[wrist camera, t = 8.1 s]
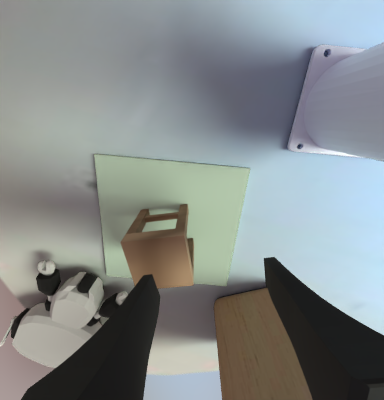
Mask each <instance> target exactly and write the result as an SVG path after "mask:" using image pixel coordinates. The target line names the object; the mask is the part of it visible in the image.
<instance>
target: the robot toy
mask: <svg viewBox="0 0 384 400" xmlns="http://www.w3.org/2000/svg"><path fill="white" fill-rule="evenodd" d="M55 267H56V265H55V263H54V262H53V261H49V260H48V261H47V262H46V260H43V261H41V262H39V263H38V269H37V270H38V271H39V272H40V273H39V275H38V276H37V277H36V280H37V285H38V290H39V291H41V292H42V293H44V294H46V295H47V296H48V299H47V300H46V302H45V303H38V304H37V305H35V306H34V307H33V308H27V309H26V310H24V311H23V312H22V313H21V314H20V315H19V316H18V317H17V316H15V317H14V318H13V319H12V321H11V322H10V323H11V325H10V327H9V329H8V331H7V333H6V334H5V337H4V338H3V340H2V341H1V343H0V347H1V346H2V345H3V344H4V342H5V339H6V338H7V336H8V334H9V332H10V330H11V337H12V338H13V339H14V340H13V343H12V345H13V346H14V347H15V349H16V350H17V351H18V352H19V353H20V354H22V355H24V356H25V357H27V358H29V359H31V360H33V361H35V362H38V363H40V364H42V365H45V366H49V367H53V368H57V367H58V366H59V365H60V364H61V363H63V362H64V361H65V360H66V359H68V358H69V357H70V356H71V355H72V354H73V353H75V352H76V351H77V350H78V349H79V348H80V347H81V346H82V345H83V344H84V343H85V342H87V341H88V340H89V339H90V338H91V337H92V336H93V335H94V334H95V333H96V332H97V331H98V330H99V329H100V328H101V327H102V325H101V323H100V322H99V320H100V317H102V316H103V317H109V318H110V317H111V316H112V315H113V313H114V312H115V311H116V310H117V309H118V307H119V306H120V305H121V304H122V303H123V301H124V300H125V299H126V297H127V296H128V293H127V292H125V291H123V292H120V293H119V294H117V293H116V294H114V295H113V296H111V297H110V298H108V299H106V301H105V302H104V303H103V304H102V306H101V308H100V310H98V308H99V306H100V304H101V302H102V300H103V298H104V291H103V281H102V280H101V279H100V278H99V277H98V278H97V279H96V281H95V276H94V275H92V274H86V272H79V273H78V274H77V275H75V276H74V277H71V278H69V279H68V280H67V281H66V282H65V283H64V284H63V285H62V286H61V287H60V289H59V290H58V291H57V292H56V290H57V289H58V287H59V284H60V282H61V279H60V273H59V270H58V269H55ZM85 274H86V275H85ZM84 275H85V276H84ZM83 276H84V277H83ZM94 281H95V282H94ZM97 310H98V311H97Z"/></svg>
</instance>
